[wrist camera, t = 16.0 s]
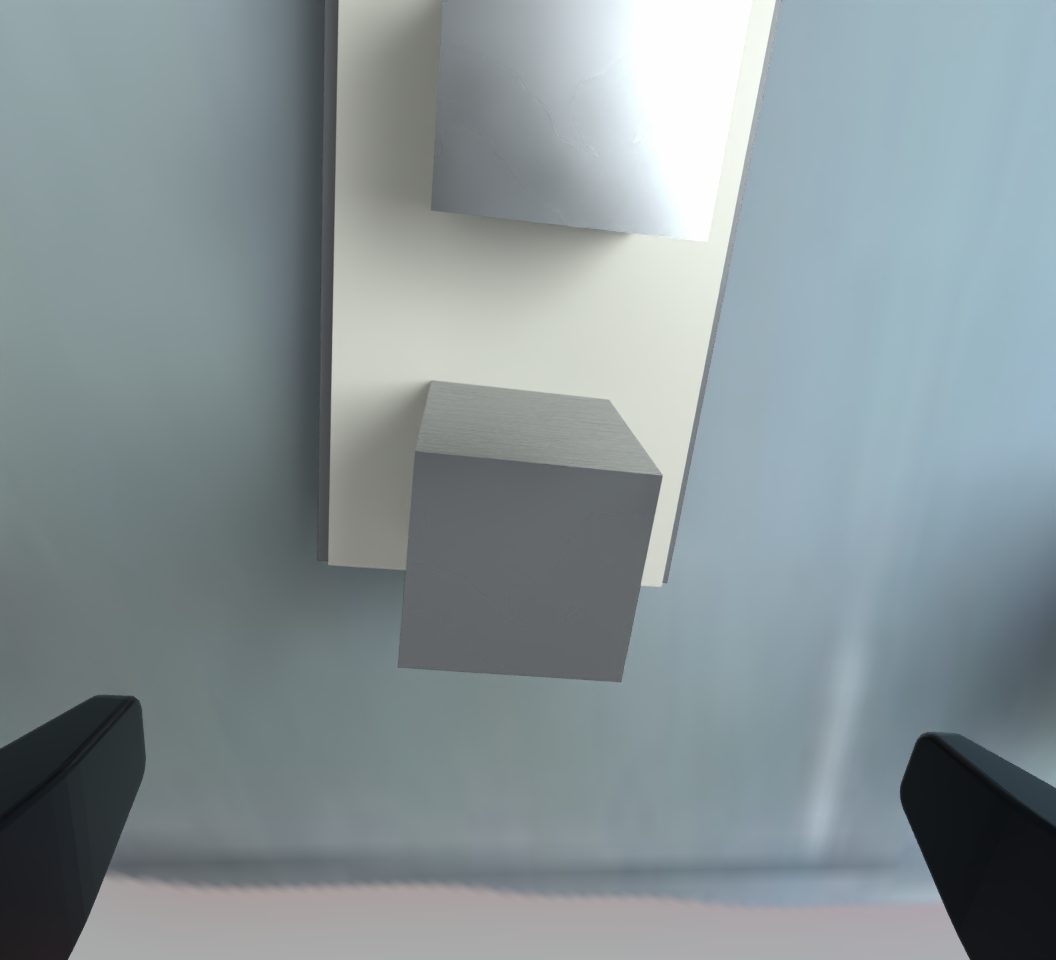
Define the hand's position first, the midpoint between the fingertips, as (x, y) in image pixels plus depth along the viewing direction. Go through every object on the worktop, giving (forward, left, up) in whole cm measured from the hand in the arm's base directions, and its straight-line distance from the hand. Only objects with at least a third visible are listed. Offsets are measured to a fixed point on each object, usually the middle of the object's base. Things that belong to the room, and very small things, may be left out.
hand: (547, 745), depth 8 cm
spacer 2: (0, 0, -9) cm, 9 cm away
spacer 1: (0, -8, -9) cm, 12 cm away
